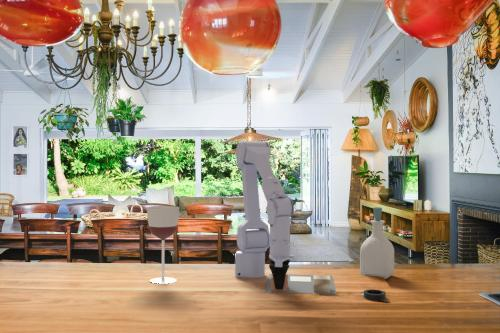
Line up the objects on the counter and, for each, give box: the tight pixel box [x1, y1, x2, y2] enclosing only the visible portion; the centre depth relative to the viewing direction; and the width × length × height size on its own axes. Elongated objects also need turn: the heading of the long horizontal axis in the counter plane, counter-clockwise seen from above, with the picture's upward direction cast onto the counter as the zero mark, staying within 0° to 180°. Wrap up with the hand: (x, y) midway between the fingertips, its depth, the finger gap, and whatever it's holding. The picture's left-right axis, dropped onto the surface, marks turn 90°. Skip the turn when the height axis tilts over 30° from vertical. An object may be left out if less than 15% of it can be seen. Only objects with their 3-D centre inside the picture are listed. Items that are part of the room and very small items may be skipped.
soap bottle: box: [359, 206, 395, 280], centre depth 166 cm, size 10×10×23 cm
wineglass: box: [146, 205, 180, 285], centre depth 159 cm, size 9×10×23 cm
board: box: [264, 273, 338, 295], centre depth 152 cm, size 20×22×1 cm
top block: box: [312, 274, 331, 292], centre depth 144 cm, size 5×5×4 cm
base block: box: [271, 273, 288, 291], centre depth 145 cm, size 5×5×4 cm
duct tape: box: [359, 288, 391, 304], centre depth 137 cm, size 8×10×3 cm
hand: (279, 286), depth 145 cm, fingers closed on base block, 5 cm apart
